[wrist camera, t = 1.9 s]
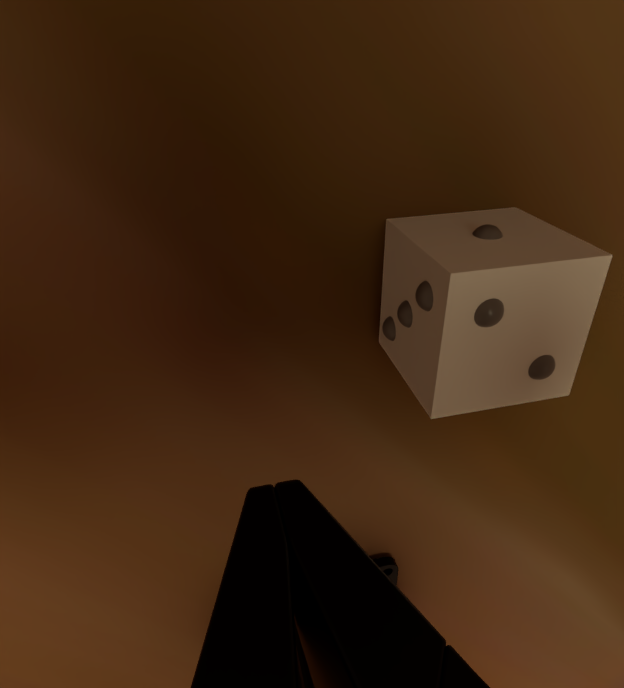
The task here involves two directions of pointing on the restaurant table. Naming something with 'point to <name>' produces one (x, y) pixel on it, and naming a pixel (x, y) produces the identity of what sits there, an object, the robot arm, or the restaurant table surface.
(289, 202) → the restaurant table surface
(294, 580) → the robot arm
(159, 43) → the restaurant table surface
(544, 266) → the die
